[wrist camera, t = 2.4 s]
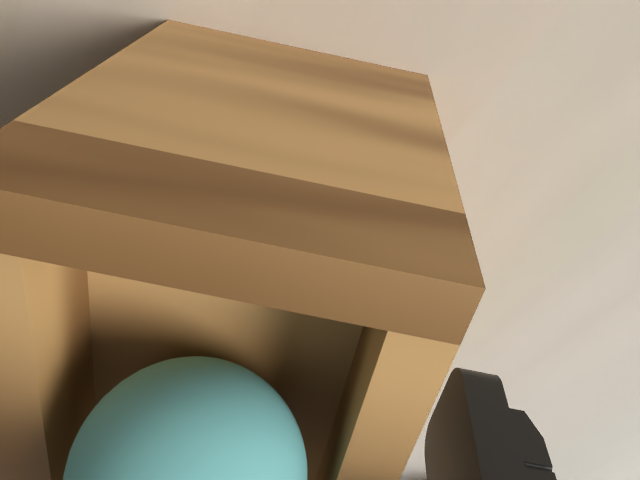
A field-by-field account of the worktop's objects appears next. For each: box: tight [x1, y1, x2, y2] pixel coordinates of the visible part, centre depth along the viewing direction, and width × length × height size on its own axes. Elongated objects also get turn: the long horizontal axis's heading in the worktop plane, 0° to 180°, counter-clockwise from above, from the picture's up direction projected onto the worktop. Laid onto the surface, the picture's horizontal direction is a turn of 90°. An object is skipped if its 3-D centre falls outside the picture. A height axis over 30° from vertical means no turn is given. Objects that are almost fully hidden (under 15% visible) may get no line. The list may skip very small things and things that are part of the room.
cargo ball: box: [63, 356, 307, 480], centre depth 8 cm, size 3×3×3 cm
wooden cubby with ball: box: [0, 20, 486, 480], centre depth 11 cm, size 8×6×8 cm
